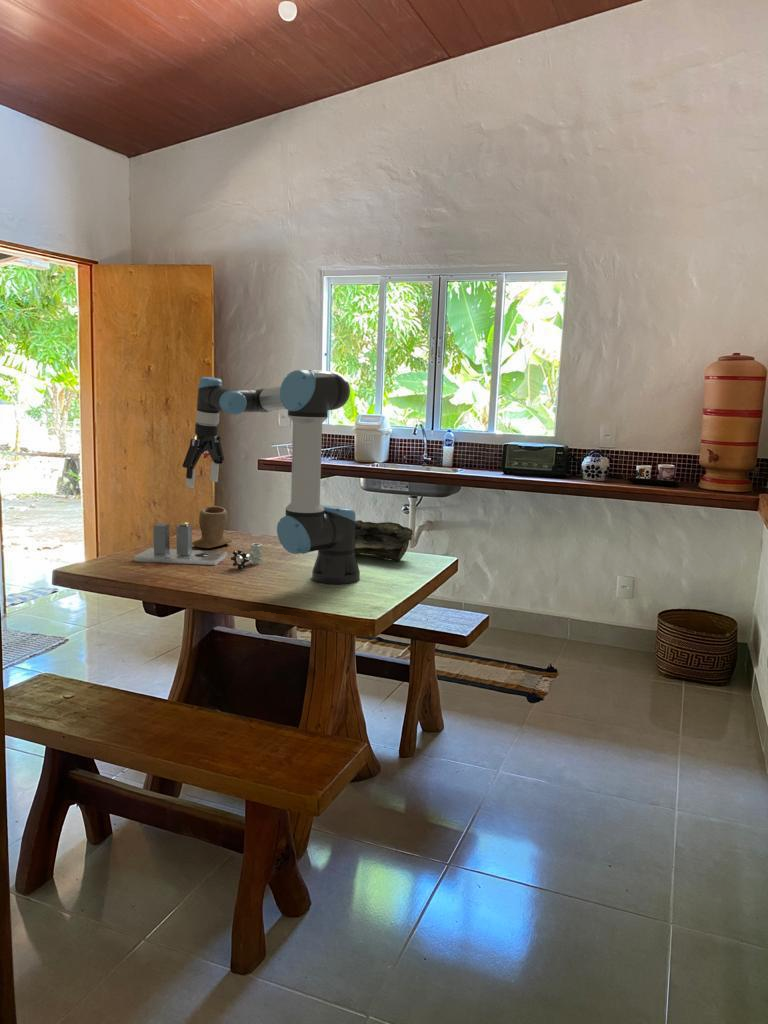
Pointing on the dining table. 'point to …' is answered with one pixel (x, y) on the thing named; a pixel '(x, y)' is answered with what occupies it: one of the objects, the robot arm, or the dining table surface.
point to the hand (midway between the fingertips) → (202, 484)
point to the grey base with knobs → (168, 555)
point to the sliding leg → (184, 538)
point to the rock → (382, 539)
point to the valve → (248, 556)
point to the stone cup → (212, 527)
